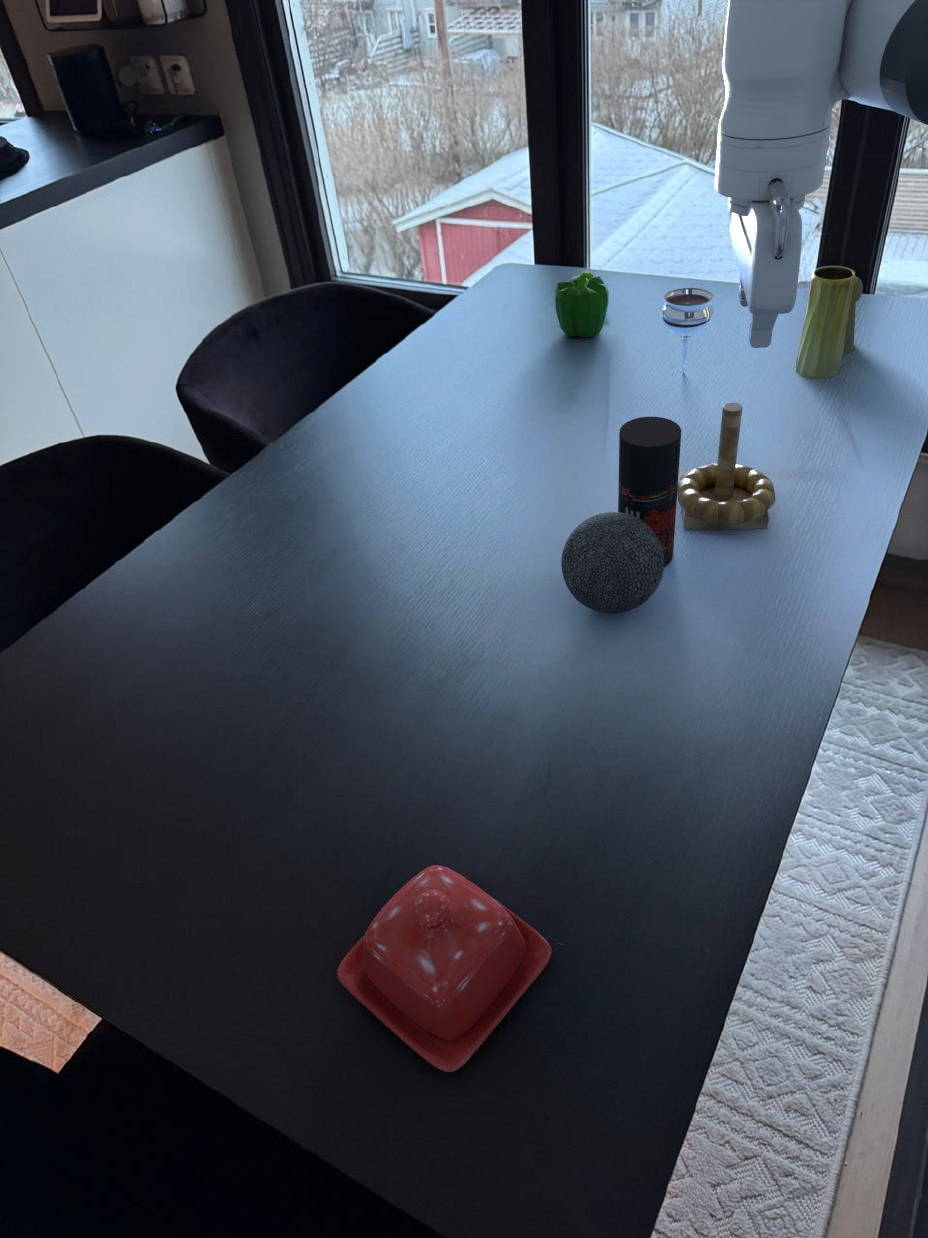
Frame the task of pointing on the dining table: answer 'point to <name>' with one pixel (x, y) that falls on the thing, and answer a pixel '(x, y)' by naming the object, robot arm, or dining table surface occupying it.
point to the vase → (825, 322)
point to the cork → (852, 316)
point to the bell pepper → (581, 305)
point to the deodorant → (650, 475)
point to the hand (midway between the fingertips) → (753, 323)
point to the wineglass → (687, 313)
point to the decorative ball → (612, 562)
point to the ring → (726, 511)
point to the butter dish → (443, 965)
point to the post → (726, 475)
